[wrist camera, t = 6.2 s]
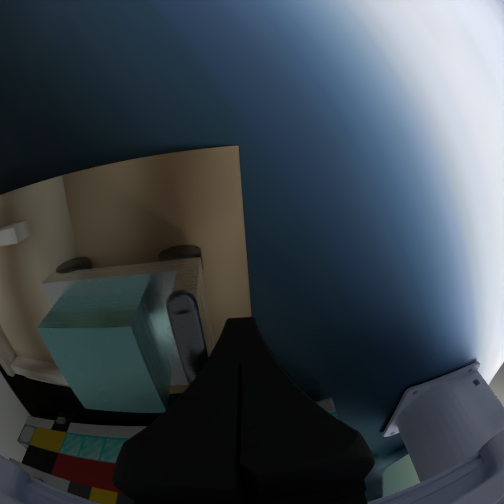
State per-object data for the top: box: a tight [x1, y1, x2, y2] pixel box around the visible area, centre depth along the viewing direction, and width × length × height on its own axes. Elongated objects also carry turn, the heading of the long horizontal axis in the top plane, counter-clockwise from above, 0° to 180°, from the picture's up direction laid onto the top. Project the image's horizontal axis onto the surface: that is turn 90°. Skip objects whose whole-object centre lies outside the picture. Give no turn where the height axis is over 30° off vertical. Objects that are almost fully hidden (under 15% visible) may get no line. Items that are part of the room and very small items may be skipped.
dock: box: [0, 145, 252, 394], centre depth 13 cm, size 19×14×4 cm
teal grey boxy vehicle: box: [37, 245, 216, 413], centre depth 11 cm, size 7×7×5 cm
